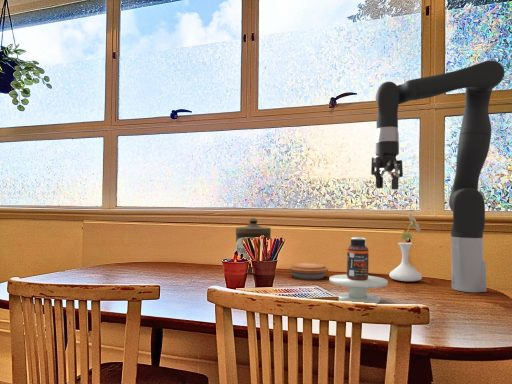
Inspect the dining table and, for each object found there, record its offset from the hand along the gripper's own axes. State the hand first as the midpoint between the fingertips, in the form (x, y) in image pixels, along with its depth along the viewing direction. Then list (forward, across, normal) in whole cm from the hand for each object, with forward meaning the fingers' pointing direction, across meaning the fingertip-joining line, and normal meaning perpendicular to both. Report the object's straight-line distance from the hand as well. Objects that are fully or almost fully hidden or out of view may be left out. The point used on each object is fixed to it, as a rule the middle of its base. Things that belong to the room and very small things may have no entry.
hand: (387, 188), depth 132 cm
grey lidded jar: (+33, -20, +51) cm, 64 cm away
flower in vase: (+33, +16, +4) cm, 37 cm away
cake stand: (+33, -25, -8) cm, 42 cm away
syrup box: (+33, +14, +24) cm, 43 cm away
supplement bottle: (+27, -25, -8) cm, 38 cm away
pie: (+34, -9, +29) cm, 45 cm away
